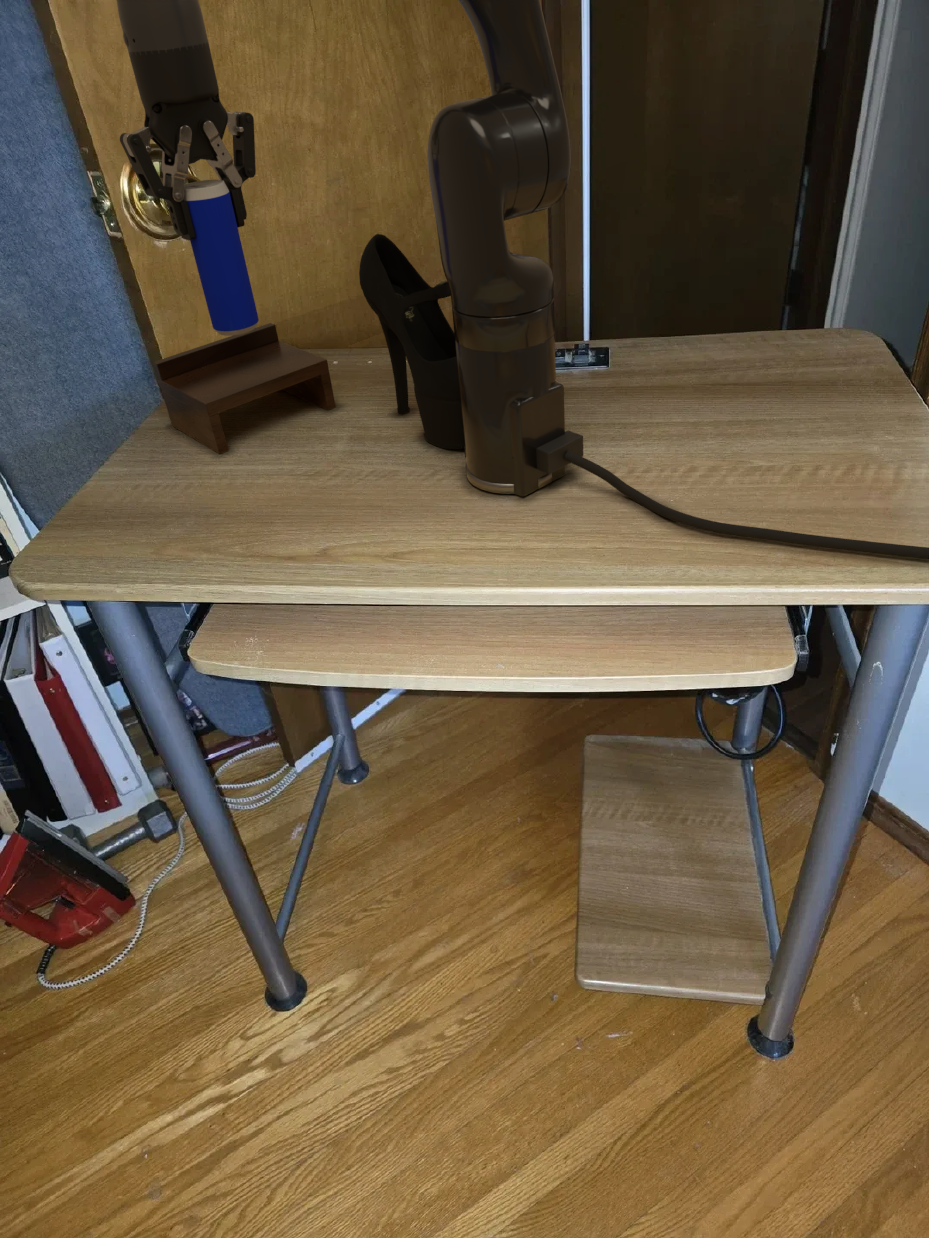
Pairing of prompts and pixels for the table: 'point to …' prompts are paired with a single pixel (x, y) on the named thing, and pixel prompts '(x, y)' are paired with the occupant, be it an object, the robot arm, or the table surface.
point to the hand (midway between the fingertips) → (213, 231)
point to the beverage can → (220, 258)
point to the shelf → (237, 380)
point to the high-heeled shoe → (415, 339)
